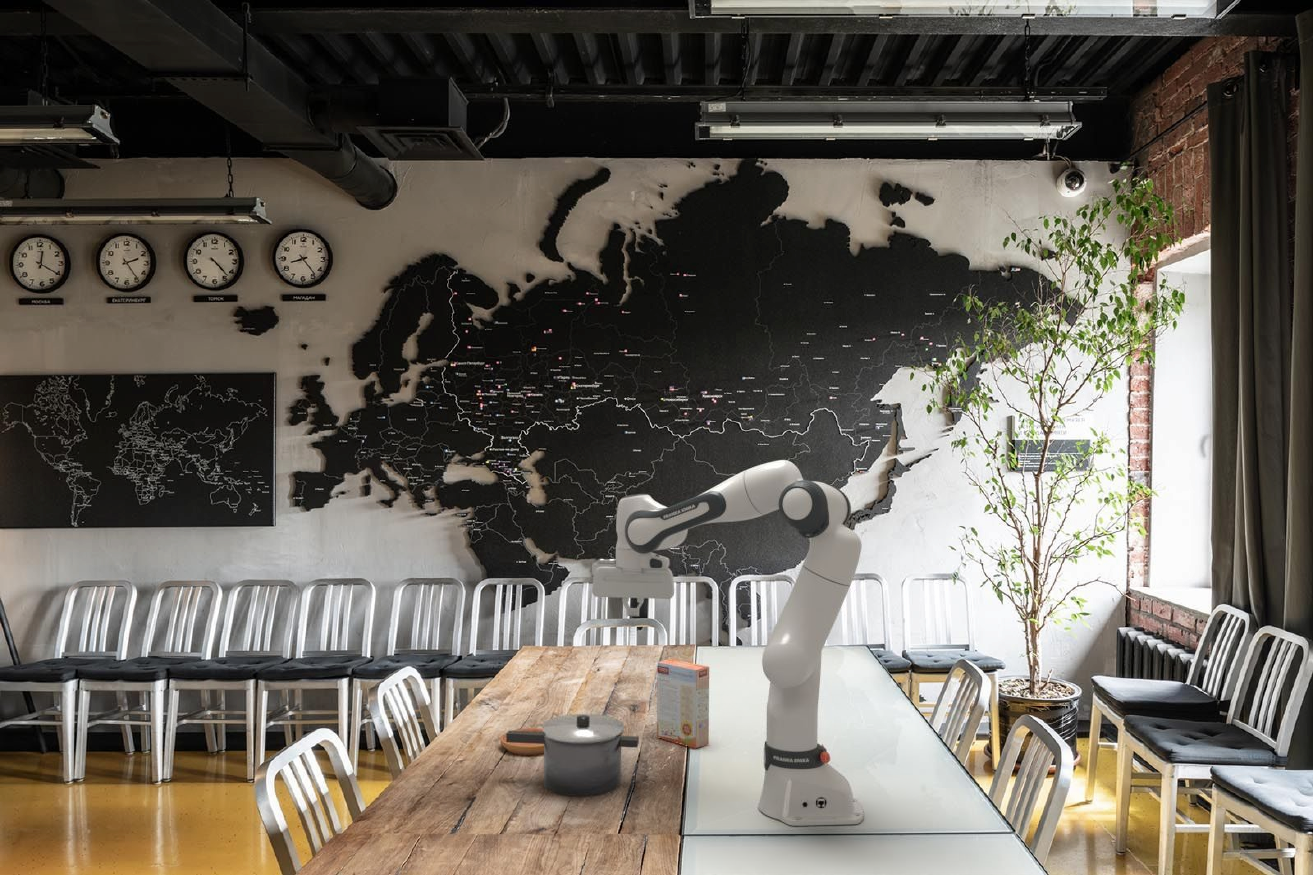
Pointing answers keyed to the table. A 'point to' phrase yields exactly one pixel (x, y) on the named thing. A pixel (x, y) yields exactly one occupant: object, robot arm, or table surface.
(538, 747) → the saucer
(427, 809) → the table surface
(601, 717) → the pot lid
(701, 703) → the cracker box
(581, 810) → the table surface
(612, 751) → the cooking pot
